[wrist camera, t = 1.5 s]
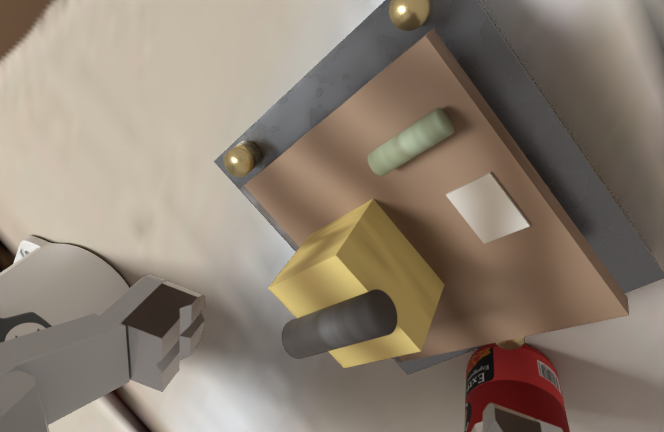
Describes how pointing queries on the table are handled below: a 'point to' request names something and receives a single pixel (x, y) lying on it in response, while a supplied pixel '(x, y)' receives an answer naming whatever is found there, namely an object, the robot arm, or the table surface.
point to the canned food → (513, 385)
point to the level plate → (422, 226)
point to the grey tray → (498, 91)
